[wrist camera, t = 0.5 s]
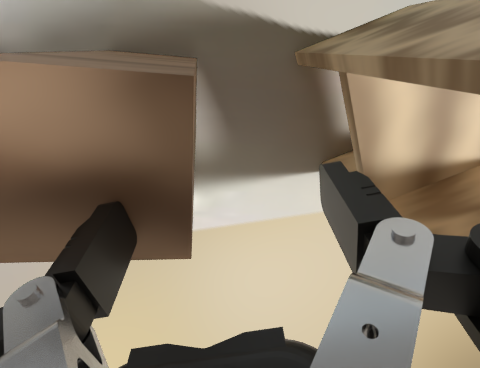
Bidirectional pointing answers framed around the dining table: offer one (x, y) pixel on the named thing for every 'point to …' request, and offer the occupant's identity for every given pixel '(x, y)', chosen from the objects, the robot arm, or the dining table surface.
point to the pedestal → (96, 149)
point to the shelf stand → (414, 108)
